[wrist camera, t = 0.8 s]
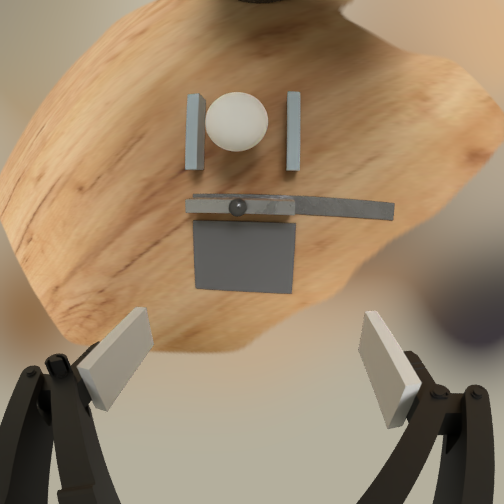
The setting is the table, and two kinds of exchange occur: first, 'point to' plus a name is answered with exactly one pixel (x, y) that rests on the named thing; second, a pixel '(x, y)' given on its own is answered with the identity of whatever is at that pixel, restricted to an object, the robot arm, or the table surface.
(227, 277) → the mat
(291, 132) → the channel
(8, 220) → the table surface
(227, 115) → the light bulb
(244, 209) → the latch bar
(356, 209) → the track
